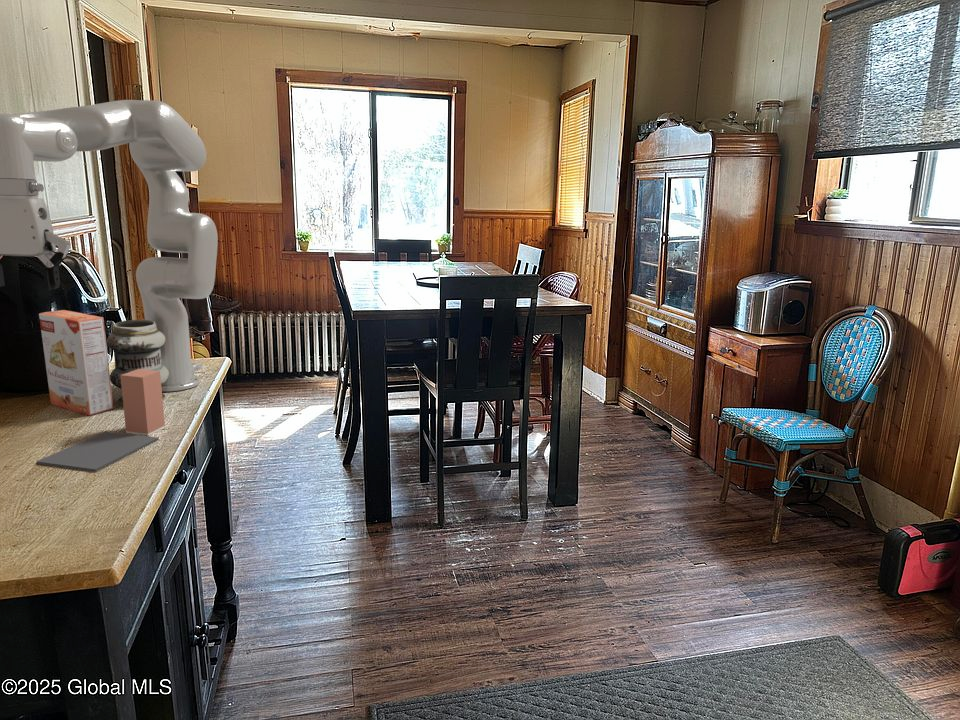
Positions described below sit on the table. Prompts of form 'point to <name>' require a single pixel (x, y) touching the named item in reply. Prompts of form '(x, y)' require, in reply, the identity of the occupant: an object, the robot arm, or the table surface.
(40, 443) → the table surface
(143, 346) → the apothecary jar
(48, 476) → the table surface
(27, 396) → the table surface
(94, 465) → the mat
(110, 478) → the table surface
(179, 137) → the robot arm
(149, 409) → the salmon pink block
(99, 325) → the cracker box
